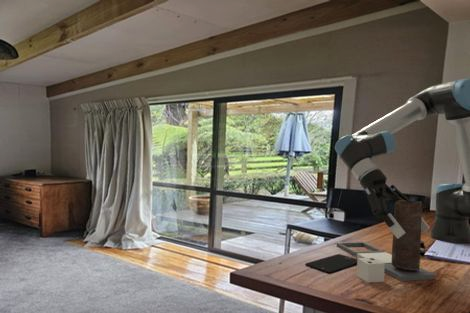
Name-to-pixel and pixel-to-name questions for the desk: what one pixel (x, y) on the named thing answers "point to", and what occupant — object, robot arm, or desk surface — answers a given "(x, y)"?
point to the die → (370, 269)
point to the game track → (387, 262)
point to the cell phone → (333, 263)
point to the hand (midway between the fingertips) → (414, 233)
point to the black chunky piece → (423, 248)
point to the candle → (407, 235)
